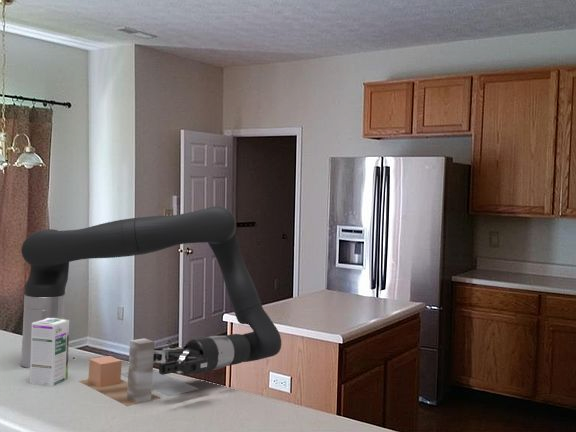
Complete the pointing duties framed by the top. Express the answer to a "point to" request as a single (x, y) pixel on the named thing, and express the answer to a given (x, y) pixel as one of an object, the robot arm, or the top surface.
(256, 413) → the top surface
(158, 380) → the grey flat slab
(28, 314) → the robot arm
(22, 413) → the top surface
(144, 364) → the base with upright panel
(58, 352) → the syrup box
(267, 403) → the top surface
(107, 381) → the terracotta block
